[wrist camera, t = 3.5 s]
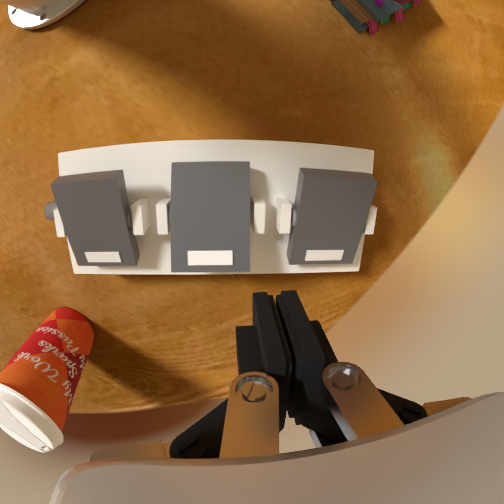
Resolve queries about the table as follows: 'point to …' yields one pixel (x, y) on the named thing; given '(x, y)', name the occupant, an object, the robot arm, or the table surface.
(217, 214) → the rocker mid
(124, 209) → the rocker
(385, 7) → the decorative book
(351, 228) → the rocker
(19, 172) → the table surface
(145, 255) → the strip
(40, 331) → the coffee cup
